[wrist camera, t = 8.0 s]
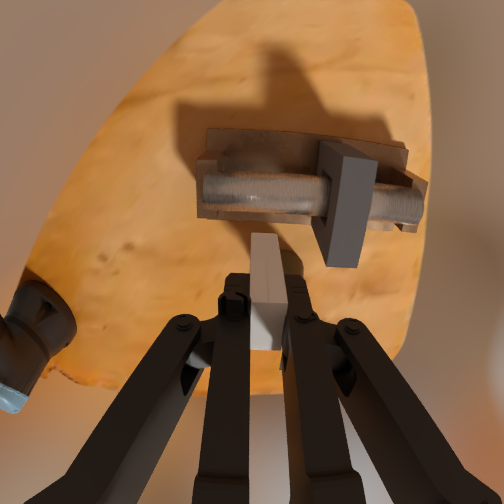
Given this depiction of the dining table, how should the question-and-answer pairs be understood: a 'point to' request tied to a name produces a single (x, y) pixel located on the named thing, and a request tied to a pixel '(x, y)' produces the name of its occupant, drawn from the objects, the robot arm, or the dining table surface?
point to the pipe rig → (297, 180)
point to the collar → (344, 203)
